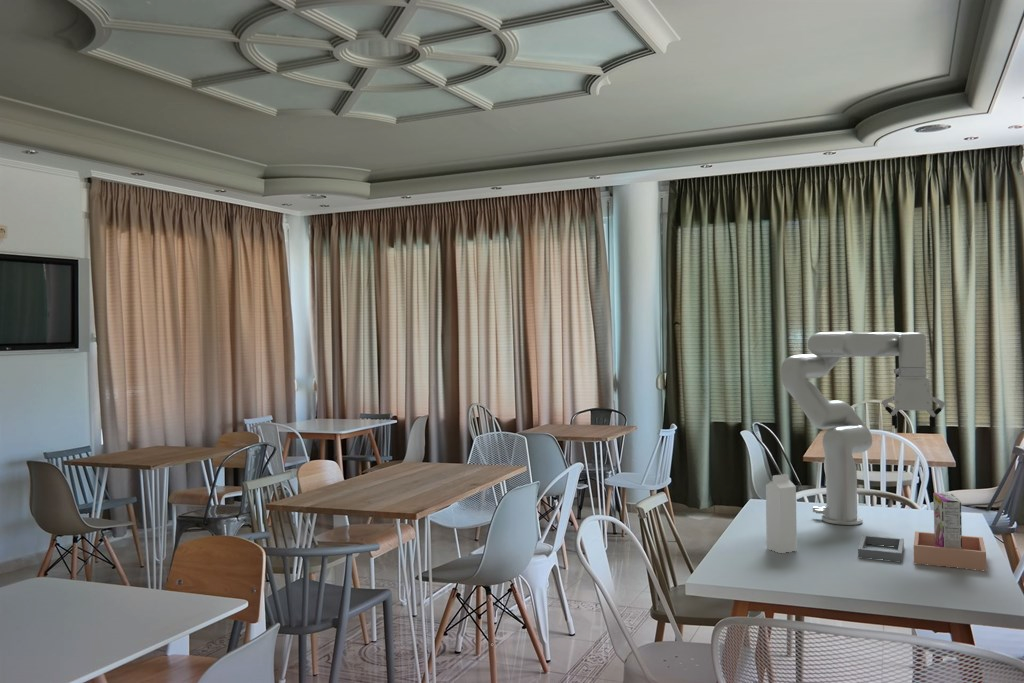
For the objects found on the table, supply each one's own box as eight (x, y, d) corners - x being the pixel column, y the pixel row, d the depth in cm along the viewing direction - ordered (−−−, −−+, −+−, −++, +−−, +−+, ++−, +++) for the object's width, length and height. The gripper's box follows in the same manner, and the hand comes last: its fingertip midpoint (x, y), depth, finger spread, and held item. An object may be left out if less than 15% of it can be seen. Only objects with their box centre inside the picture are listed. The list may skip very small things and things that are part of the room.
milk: (796, 551, 233) (796, 475, 233) (780, 554, 231) (780, 477, 231) (782, 546, 239) (781, 472, 239) (765, 548, 236) (765, 473, 236)
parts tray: (858, 557, 226) (857, 548, 226) (862, 543, 241) (862, 535, 241) (901, 562, 221) (901, 553, 221) (903, 547, 236) (903, 538, 236)
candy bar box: (933, 549, 229) (932, 492, 229) (952, 550, 228) (952, 492, 228) (942, 560, 218) (941, 500, 218) (963, 561, 217) (962, 500, 217)
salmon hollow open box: (913, 563, 219) (913, 545, 219) (915, 548, 234) (915, 531, 234) (986, 571, 211) (986, 552, 211) (982, 555, 226) (982, 537, 226)
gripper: (880, 373, 247) (881, 429, 247) (944, 373, 239) (945, 431, 239) (882, 372, 253) (882, 426, 253) (944, 372, 245) (945, 428, 245)
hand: (913, 428), depth 246 cm, fingers open, 9 cm apart
